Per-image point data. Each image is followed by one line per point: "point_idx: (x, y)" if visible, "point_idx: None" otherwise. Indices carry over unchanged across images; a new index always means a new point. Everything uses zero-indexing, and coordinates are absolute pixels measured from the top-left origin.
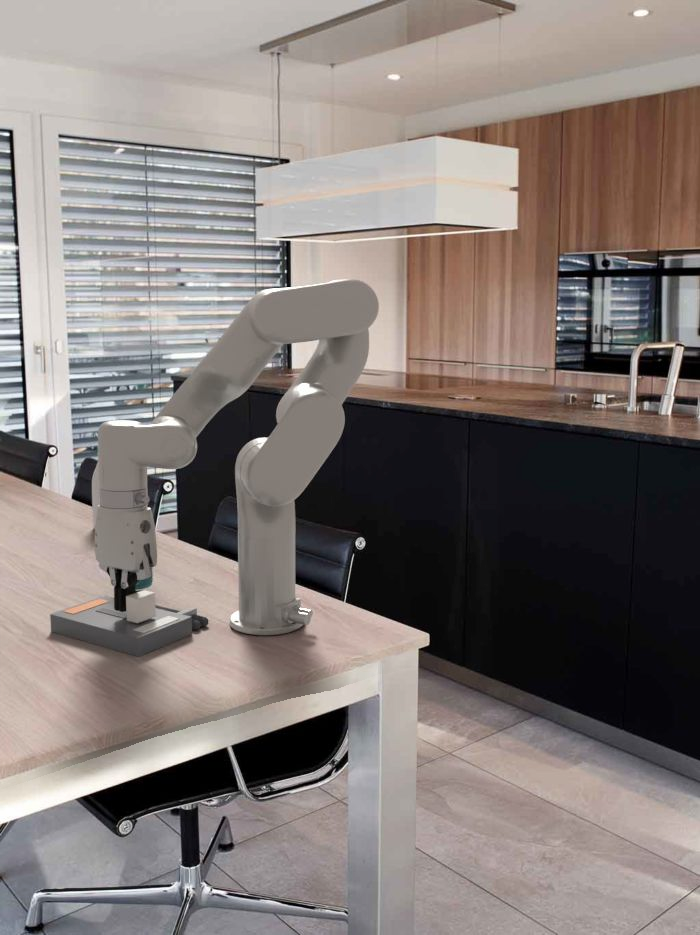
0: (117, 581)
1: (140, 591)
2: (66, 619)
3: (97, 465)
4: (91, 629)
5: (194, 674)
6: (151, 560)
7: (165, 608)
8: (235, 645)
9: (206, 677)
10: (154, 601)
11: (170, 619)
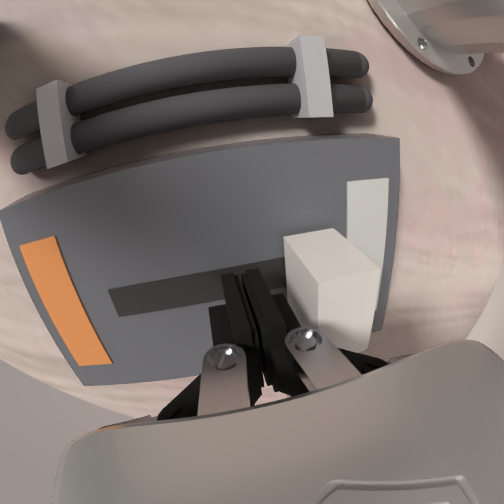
0: (254, 405)
1: (320, 305)
2: (135, 380)
3: None
4: None
5: (460, 274)
6: (454, 363)
7: (188, 69)
8: (460, 136)
9: (473, 268)
10: (359, 253)
11: (373, 201)
